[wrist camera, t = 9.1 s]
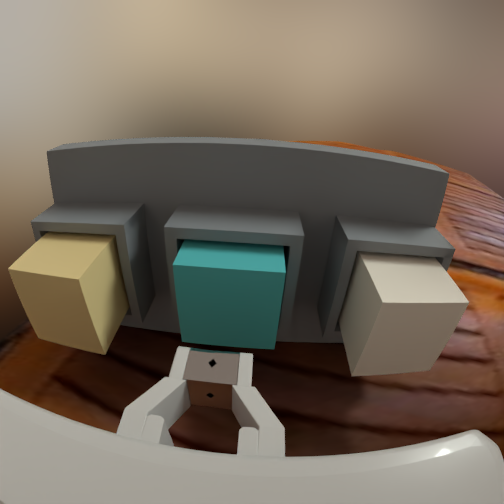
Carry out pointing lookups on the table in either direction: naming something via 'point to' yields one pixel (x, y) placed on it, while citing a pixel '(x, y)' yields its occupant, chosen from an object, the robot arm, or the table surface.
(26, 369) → the table surface
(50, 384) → the table surface
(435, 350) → the button cream
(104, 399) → the table surface
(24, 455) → the robot arm
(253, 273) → the button teal
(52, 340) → the button mustard
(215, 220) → the control panel
